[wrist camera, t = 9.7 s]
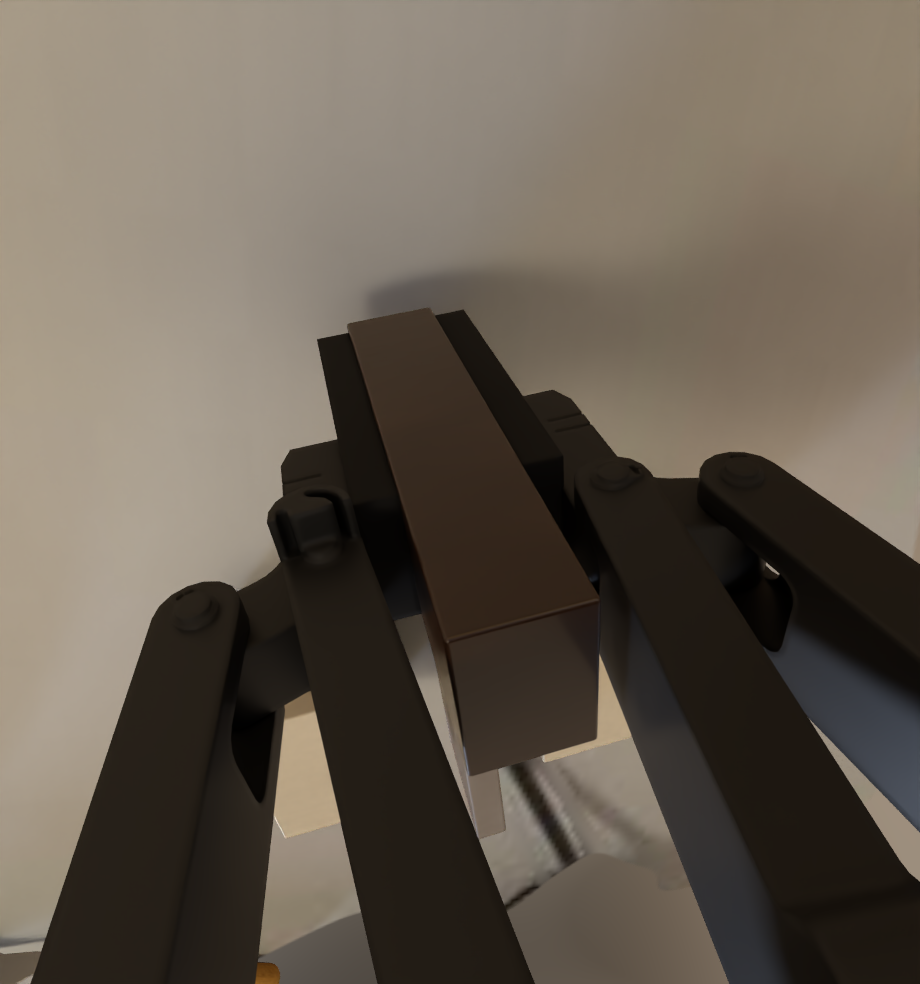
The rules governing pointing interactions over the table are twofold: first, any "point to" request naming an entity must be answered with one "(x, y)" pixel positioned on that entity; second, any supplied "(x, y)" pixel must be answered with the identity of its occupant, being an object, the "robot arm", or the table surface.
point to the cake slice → (303, 773)
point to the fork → (13, 968)
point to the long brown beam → (481, 563)
